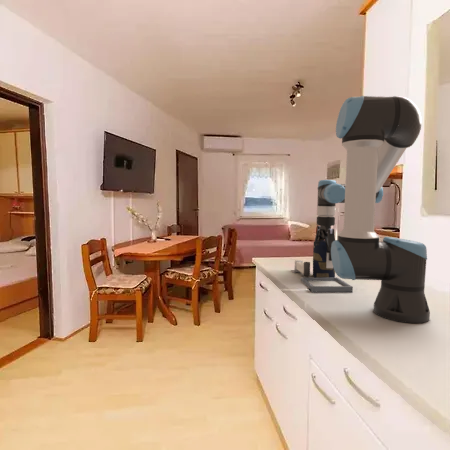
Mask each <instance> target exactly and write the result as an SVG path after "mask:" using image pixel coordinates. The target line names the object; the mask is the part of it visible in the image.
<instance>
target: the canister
mask: <svg viewBox="0 0 450 450" xmlns="http://www.w3.org/2000/svg"><path fill="white" fill-rule="evenodd" d="M312 249H313V250H312V251H313V252H312V253H313V254H312V278H336V272H335V270H334V267H333V268H326V261H327V253H326V252H327V251H328V250H327V246H326V242H325V239H321V240H316V241H315V240H314V241H313V246H312Z"/></svg>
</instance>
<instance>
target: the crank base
mask: <svg viewBox="0 0 450 450" xmlns="http://www.w3.org/2000/svg"><path fill="white" fill-rule="evenodd" d="M294 270H295V269H290V272H292V274H302V273H301V272H295V271H294Z"/></svg>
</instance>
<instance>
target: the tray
mask: <svg viewBox="0 0 450 450" xmlns="http://www.w3.org/2000/svg"><path fill="white" fill-rule="evenodd" d="M300 281H301V283H303V284H304V285H305V286H306V287H308V288H306V289H307V291H308V290H309V291H310V292H311V293H314V294H315V293H317V294H318V293H333V294H334V293H338V294H339V293H353V290H354V286H353V285H351V284H349V283H347V282H346V281H344V280H343V279H342V278H340V277H335V278H314V277H300ZM310 282H337V283H339V284H340V286H339V285H333V286H332V285H330V286H329V285H327V286H326V285H321V286H320V285H319V286H318V285H316V286H315V285H313V284H311V283H310Z"/></svg>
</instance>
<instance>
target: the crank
mask: <svg viewBox="0 0 450 450" xmlns="http://www.w3.org/2000/svg"><path fill="white" fill-rule="evenodd" d="M293 270H294V271H295V272H301V273H300V274H302V275H303V277H310V276H311V262H310V261H303V260H298V259H296V260H295V259H294V269H293Z"/></svg>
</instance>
